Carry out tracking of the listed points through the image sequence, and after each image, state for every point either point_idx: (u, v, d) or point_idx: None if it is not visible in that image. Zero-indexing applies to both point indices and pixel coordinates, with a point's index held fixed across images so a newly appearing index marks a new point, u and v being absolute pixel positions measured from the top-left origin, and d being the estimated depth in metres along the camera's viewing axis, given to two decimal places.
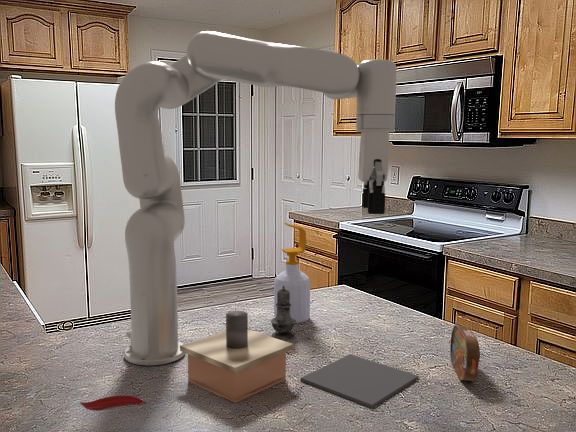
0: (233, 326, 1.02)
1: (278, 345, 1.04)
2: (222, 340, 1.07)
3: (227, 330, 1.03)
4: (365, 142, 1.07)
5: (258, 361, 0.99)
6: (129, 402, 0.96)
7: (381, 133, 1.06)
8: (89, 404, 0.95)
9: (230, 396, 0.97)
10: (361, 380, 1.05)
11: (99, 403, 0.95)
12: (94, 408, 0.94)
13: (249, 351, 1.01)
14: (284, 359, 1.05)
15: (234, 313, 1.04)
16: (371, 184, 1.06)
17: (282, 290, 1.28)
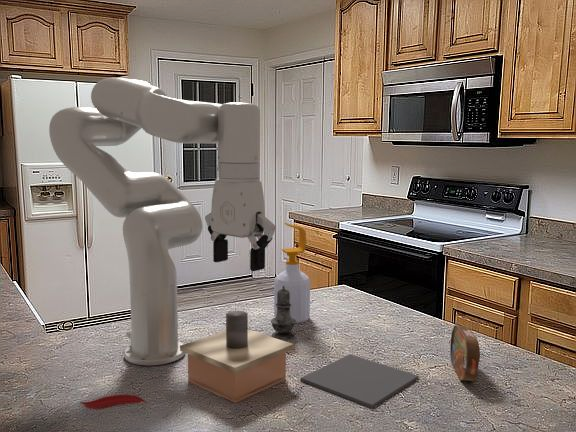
0: (233, 326, 1.02)
1: (278, 345, 1.04)
2: (222, 340, 1.07)
3: (227, 330, 1.03)
4: (246, 194, 0.97)
5: (258, 361, 0.99)
6: (129, 401, 0.97)
7: (258, 183, 0.99)
8: (89, 403, 0.95)
9: (230, 396, 0.97)
10: (361, 380, 1.05)
11: (100, 402, 0.95)
12: (95, 407, 0.94)
13: (249, 351, 1.01)
14: (284, 359, 1.05)
15: (234, 313, 1.04)
16: (255, 239, 0.98)
17: (282, 290, 1.28)
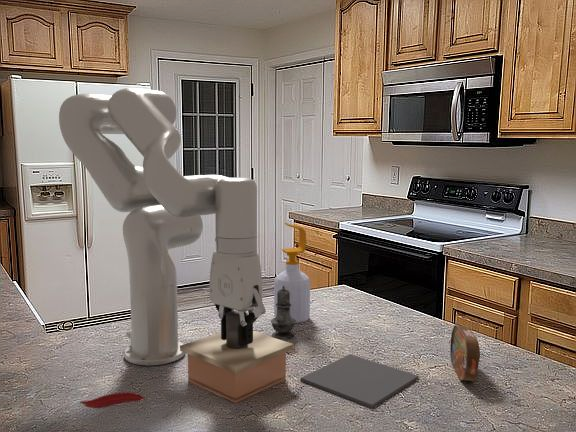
0: (233, 326, 1.02)
1: (278, 345, 1.04)
2: (222, 340, 1.07)
3: (227, 330, 1.03)
4: (243, 269, 0.98)
5: (258, 361, 0.99)
6: (130, 399, 0.97)
7: (255, 257, 1.00)
8: (90, 402, 0.96)
9: (230, 396, 0.97)
10: (361, 380, 1.05)
11: (100, 401, 0.96)
12: (96, 406, 0.95)
13: (249, 351, 1.01)
14: (284, 359, 1.05)
15: (234, 313, 1.04)
16: (245, 317, 1.01)
17: (282, 290, 1.28)
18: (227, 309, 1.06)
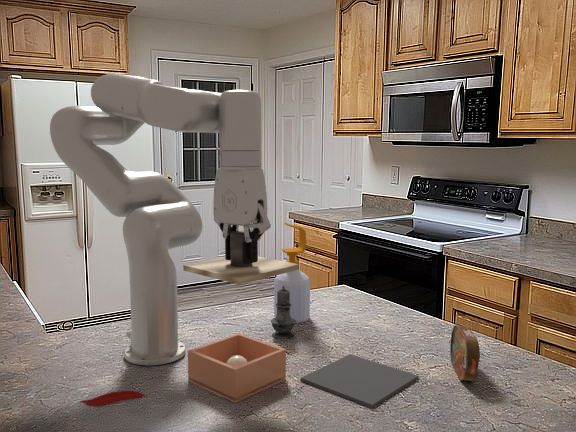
0: (238, 243, 1.00)
1: (283, 265, 1.02)
2: (226, 261, 1.05)
3: (231, 248, 1.01)
4: (247, 182, 0.96)
5: (263, 276, 0.96)
6: (130, 397, 0.98)
7: (260, 171, 0.98)
8: (90, 401, 0.96)
9: (230, 396, 0.97)
10: (361, 380, 1.05)
11: (101, 399, 0.96)
12: (97, 405, 0.95)
13: (254, 269, 0.99)
14: (284, 359, 1.05)
15: (239, 232, 1.02)
16: (249, 233, 0.99)
17: (282, 290, 1.28)
18: (231, 229, 1.04)
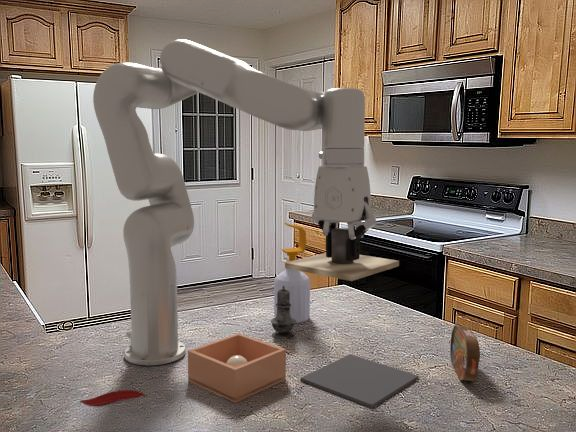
0: (341, 240, 1.01)
1: (385, 261, 1.03)
2: (325, 259, 1.06)
3: (333, 245, 1.02)
4: (354, 179, 0.96)
5: (370, 272, 0.97)
6: (130, 396, 0.98)
7: (365, 168, 0.98)
8: (90, 401, 0.96)
9: (230, 396, 0.97)
10: (361, 380, 1.05)
11: (101, 399, 0.96)
12: (97, 404, 0.95)
13: (358, 265, 1.00)
14: (284, 359, 1.05)
15: (340, 229, 1.02)
16: (354, 230, 0.99)
17: (282, 290, 1.28)
18: (331, 227, 1.05)
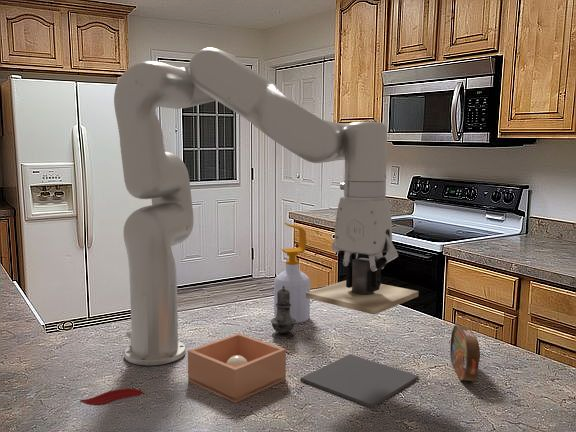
0: (362, 272, 1.01)
1: (404, 292, 1.04)
2: (345, 288, 1.06)
3: (354, 276, 1.03)
4: (377, 212, 0.97)
5: (392, 305, 0.98)
6: (130, 394, 0.99)
7: (387, 201, 0.99)
8: (91, 400, 0.96)
9: (230, 396, 0.97)
10: (361, 380, 1.05)
11: (101, 398, 0.97)
12: (97, 403, 0.96)
13: (379, 297, 1.01)
14: (284, 359, 1.05)
15: (360, 260, 1.03)
16: (375, 262, 1.00)
17: (282, 290, 1.28)
18: (351, 257, 1.06)
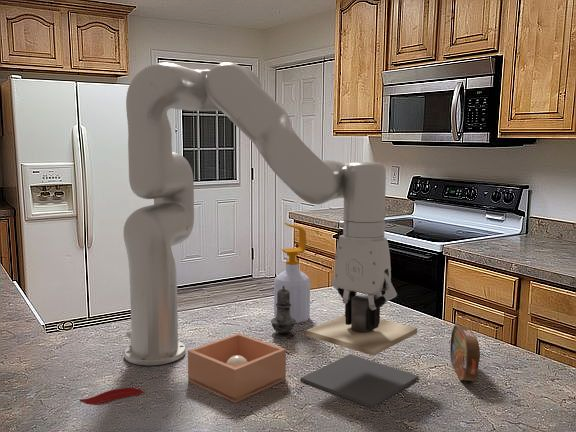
0: (361, 310, 1.02)
1: (403, 329, 1.05)
2: (344, 324, 1.07)
3: (354, 314, 1.03)
4: (376, 253, 0.98)
5: (391, 344, 0.99)
6: (130, 394, 0.99)
7: (386, 241, 1.00)
8: (91, 400, 0.97)
9: (230, 396, 0.97)
10: (361, 380, 1.05)
11: (101, 397, 0.97)
12: (97, 403, 0.96)
13: (378, 335, 1.02)
14: (284, 359, 1.05)
15: (360, 298, 1.04)
16: (374, 301, 1.01)
17: (282, 290, 1.28)
18: (350, 294, 1.06)
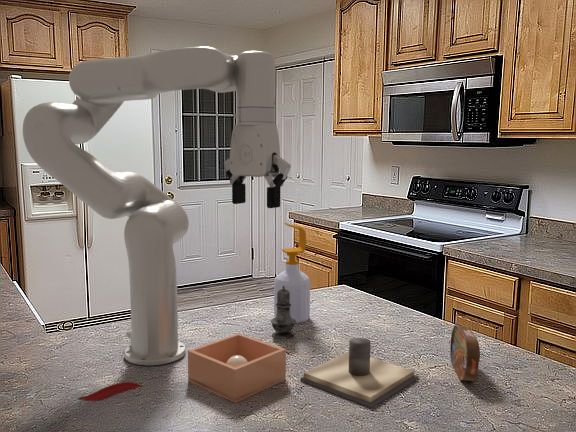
0: (358, 354, 1.04)
1: (400, 372, 1.06)
2: (342, 366, 1.09)
3: (351, 357, 1.05)
4: (263, 135, 1.04)
5: (387, 389, 1.00)
6: (127, 388, 1.02)
7: (274, 126, 1.06)
8: (90, 397, 0.98)
9: (230, 396, 0.97)
10: None
11: (101, 393, 0.98)
12: (98, 399, 0.97)
13: (375, 379, 1.03)
14: (284, 359, 1.05)
15: (357, 341, 1.06)
16: (271, 178, 1.06)
17: (282, 290, 1.28)
18: (238, 176, 1.14)
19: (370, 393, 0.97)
